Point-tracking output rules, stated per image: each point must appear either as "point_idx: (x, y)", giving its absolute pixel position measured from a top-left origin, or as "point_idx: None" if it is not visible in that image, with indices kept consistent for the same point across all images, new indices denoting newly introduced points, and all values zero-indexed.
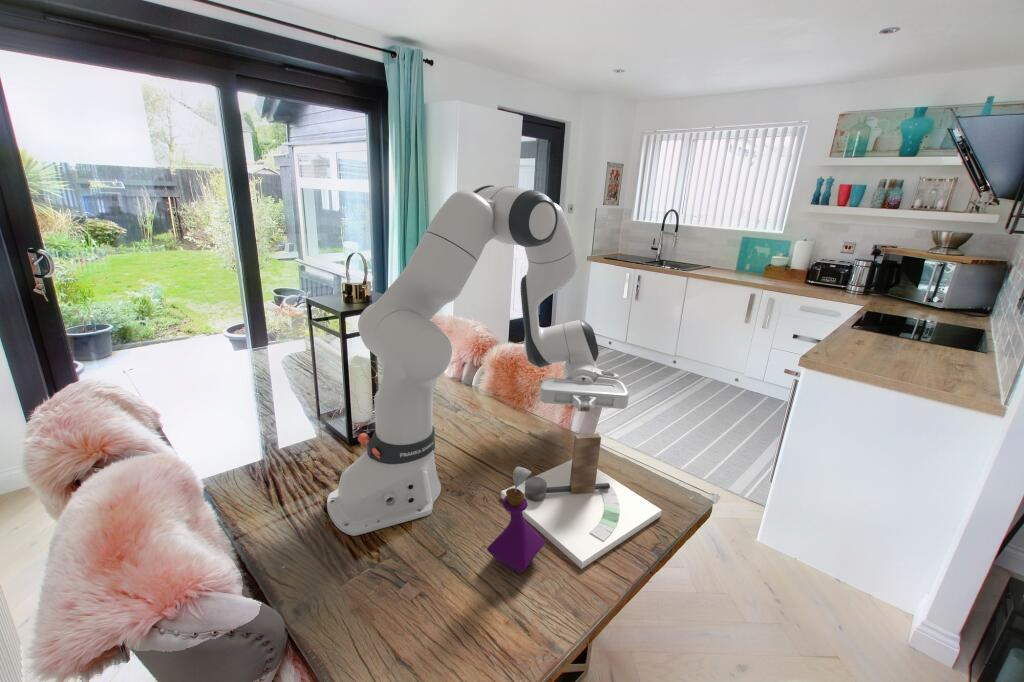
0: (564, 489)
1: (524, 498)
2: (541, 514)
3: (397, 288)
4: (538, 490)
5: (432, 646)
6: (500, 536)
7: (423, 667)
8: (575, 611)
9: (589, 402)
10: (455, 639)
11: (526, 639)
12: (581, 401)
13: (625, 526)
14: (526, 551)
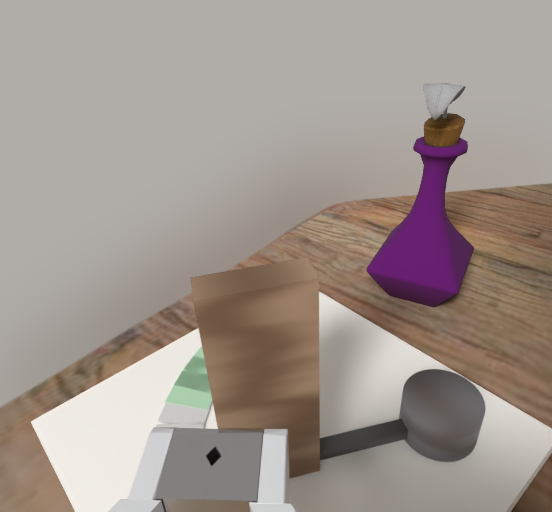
0: (337, 436)
1: (424, 145)
2: (394, 362)
3: None
4: (423, 371)
5: (472, 203)
6: (455, 229)
7: (468, 193)
8: (306, 242)
9: (156, 481)
10: (450, 209)
11: (367, 217)
12: (247, 497)
13: (174, 354)
14: (396, 227)
